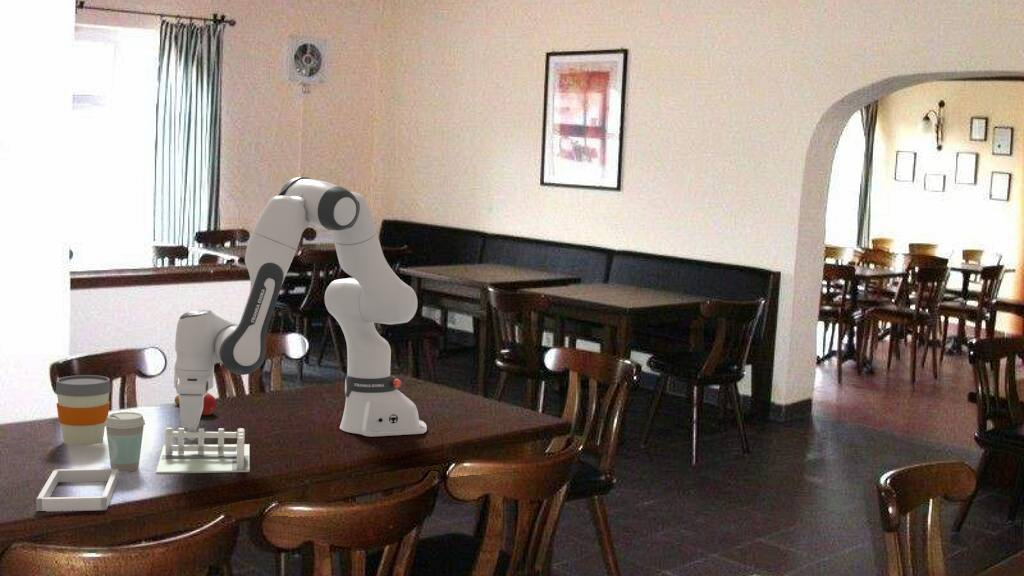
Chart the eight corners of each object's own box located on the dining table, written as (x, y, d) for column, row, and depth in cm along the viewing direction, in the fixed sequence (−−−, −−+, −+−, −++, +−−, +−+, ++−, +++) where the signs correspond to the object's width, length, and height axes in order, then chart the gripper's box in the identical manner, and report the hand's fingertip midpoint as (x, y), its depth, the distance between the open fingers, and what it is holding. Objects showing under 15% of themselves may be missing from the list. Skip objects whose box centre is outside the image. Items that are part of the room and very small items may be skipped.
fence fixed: (237, 457, 282) (237, 430, 281) (244, 457, 282) (244, 430, 281) (236, 469, 271) (236, 441, 270) (243, 469, 271) (244, 441, 270)
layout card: (249, 445, 295) (249, 443, 295) (249, 471, 271) (249, 469, 271) (163, 446, 290) (163, 444, 290) (156, 473, 267) (156, 471, 267)
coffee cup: (109, 463, 274) (109, 411, 272) (148, 464, 275) (148, 411, 273) (100, 473, 265) (100, 419, 264) (140, 474, 266) (140, 420, 265)
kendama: (164, 411, 334) (195, 415, 320) (166, 388, 334) (197, 391, 321) (190, 413, 339) (221, 417, 325) (192, 391, 340) (224, 393, 326)
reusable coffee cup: (121, 438, 296) (121, 378, 295) (88, 450, 285) (87, 386, 283) (78, 433, 301) (78, 373, 299) (43, 443, 289) (43, 381, 287)
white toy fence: (245, 453, 284) (245, 428, 283) (244, 455, 282) (244, 430, 281) (166, 452, 282) (166, 427, 281) (164, 454, 280) (165, 429, 279)
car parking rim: (118, 479, 261) (118, 468, 261) (106, 510, 240) (106, 497, 239) (54, 480, 258) (54, 469, 258) (36, 511, 237) (36, 499, 237)
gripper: (183, 371, 291) (181, 428, 292) (176, 388, 271) (174, 448, 272) (210, 372, 292) (208, 428, 294) (205, 388, 272) (203, 449, 274)
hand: (191, 438), depth 283 cm, fingers closed
